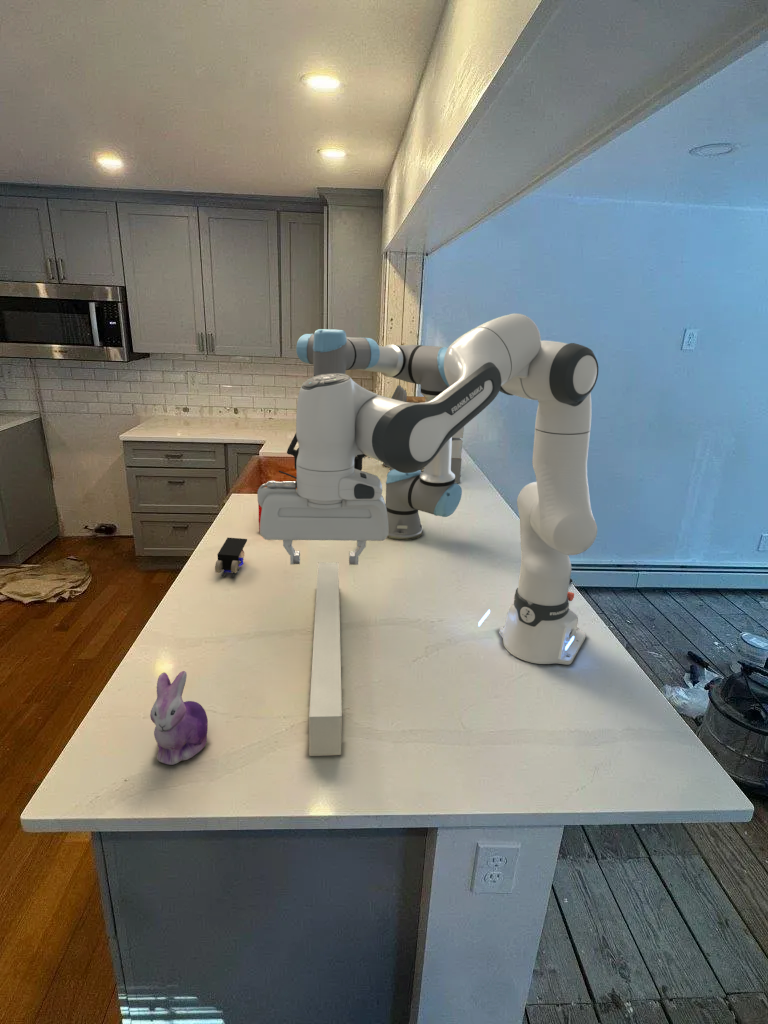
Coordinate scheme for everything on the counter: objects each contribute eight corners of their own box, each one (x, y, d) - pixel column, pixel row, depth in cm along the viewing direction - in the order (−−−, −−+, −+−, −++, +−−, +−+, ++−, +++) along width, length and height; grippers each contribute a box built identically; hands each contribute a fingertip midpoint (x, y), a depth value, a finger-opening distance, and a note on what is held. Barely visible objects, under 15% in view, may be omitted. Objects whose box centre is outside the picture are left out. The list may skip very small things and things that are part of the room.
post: (317, 589, 158) (318, 562, 155) (338, 589, 159) (338, 562, 156) (309, 756, 100) (309, 716, 97) (340, 755, 100) (341, 716, 97)
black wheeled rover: (238, 584, 162) (249, 557, 175) (236, 562, 158) (247, 536, 172) (215, 584, 161) (227, 556, 175) (212, 561, 158) (225, 535, 171)
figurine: (158, 776, 94) (149, 701, 89) (151, 736, 102) (142, 665, 97) (216, 758, 98) (211, 685, 93) (204, 721, 107) (199, 653, 102)
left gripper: (274, 397, 131) (276, 485, 138) (382, 401, 133) (378, 487, 140) (277, 393, 138) (279, 477, 145) (380, 396, 140) (376, 478, 147)
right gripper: (254, 486, 84) (257, 571, 88) (391, 489, 86) (387, 572, 90) (259, 474, 90) (262, 554, 94) (388, 477, 91) (384, 555, 96)
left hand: (328, 482), depth 143 cm, fingers open, 13 cm apart
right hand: (324, 563), depth 92 cm, fingers open, 8 cm apart
